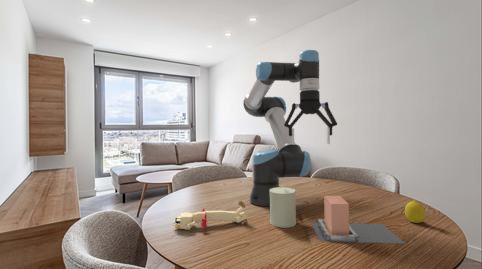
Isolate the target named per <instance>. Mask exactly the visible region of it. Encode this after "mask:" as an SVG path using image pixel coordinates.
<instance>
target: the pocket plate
mask: <svg viewBox="0 0 482 269" xmlns="http://www.w3.org/2000/svg"><path fill="white" fill-rule="evenodd" d="M311 225H312V227H313V229H314V231H315V234H316V236H317V239H318V240H319V242H331V243H332V242H334V243H335V242H336V243H367V244H368V243H369V244H371V243H373V244H374V243H375V244H401V245H402V244H404V245H405V244H406V242H404V240H402V239H401V238H400V237H398V236H397V235H396V234H395V233H394V232H393V231H392V230H390V229H389V228H388V227H386V226H385V225H384V224H383V223H356V222H354V223H350V222H349V235H339V234H330V233H329V232H328V230H327V228H326V227H325V218H323V219H322V218H318V219H317V222H311Z"/></svg>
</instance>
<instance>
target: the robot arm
mask: <svg viewBox="0 0 482 269" xmlns="http://www.w3.org/2000/svg"><path fill="white" fill-rule="evenodd" d="M298 56H299V57H298V61H297V62H276V61H260V62H258V63H257V65H256V68H255V76H256V80H255V82H254V83H253V86H252V88H251V89H250V91H249V93H247V95H246V96H245V97H244V99H243V102H242V103H243V107H244V108H243V109H244V110H245V111H246V113H247V114H249V115H250V116H252V117H256V118H264V120H265V121H266V122H267V123H269V125H270V128H271V131H272V135H273V136H274V140H275V142H276V145H277V148H278V149H274V148H273V149H265V150H260V151H257V152H254V154H253V157H252V172H253V173H252V176H253V183H252V184H253V185H252V188H251V192H250V196H249V202H250V204H252V203H253V204H252V205H254V204H255V205H256V206H258V205H260V206H259V207H270V191H269V190H270V189H272V188H277V187H280V178H282V179H283V178H300V177H305V176H307V175H308V174H309V172H310V170H311V162H312V161H311V155H310V153H309V152H308V151H305V150H302V148H301V146H300V145H299V144H296V142H295V128H294V126H295V125H296V123H297V122H298V121H299V119H300V118H301V117H302V116H303V115H317V116H318V117H319V119H321V121H322V122H323V123H324V124H325V125H326V126H327V127H325V141H326V142H325V144H326V145H331V138H330V137H331V136H333V127H335V126H338V122H337V120H336V119H335V116H334V115H333V113H332V111H331V109H330V106H329V102H327V101H326V102H322V103H321V101H320V100H321V99H320V97H321V96H320V91H319V90H320V54H319V51H317V50H315V49H305V50H303V51H301V52H300V53H299V55H298ZM275 81H278V82H280V81H282V82H284V81H285V82H289V83H299V91H300V92H299V103H294V102H293V103H292V104H291V110H290V112H289V114H288V115H287V118H286V119H285V116H286V113H287V104H286V101H285V100H284V98H283V97H280V96H267V93H268V92H269V91H270V89H271V87H272V86H273V84H274V83H275ZM321 107H322V109H324V112H325V113H326V115H327V117H328V118H329V119H328V118H327V117H326V116H325V114H323V112H322V111H321V110H320V108H321ZM298 108H299V109H300V112H299V113H298V114H297V115H296V117H295V118H294V119H293V120H292V122H291V119H292V117H293V115H294V113H295V111H296V110H297V109H298ZM329 120H330V121H329ZM289 123H290V124H289Z"/></svg>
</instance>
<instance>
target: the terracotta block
mask: <svg viewBox="0 0 482 269" xmlns="http://www.w3.org/2000/svg"><path fill="white" fill-rule="evenodd" d="M323 200H324V201H323V205H324V208H323V209H324V210H323V211H324V212H323V213H324V214H323V215H324V219H325V227H326V228H327V230H328V232H329V233H330V234H339V235H349V223H350V205H349V204H350V203H348V201H347V200H345V198H343V197H342V196H341V195H324V197H323Z"/></svg>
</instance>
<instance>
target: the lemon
mask: <svg viewBox="0 0 482 269" xmlns="http://www.w3.org/2000/svg"><path fill="white" fill-rule="evenodd" d="M404 214H405V217H406V219H407V220H408V221H409V222H411V223H413V224H420V223H422V222H423V221H424V220H425V217H426V212H425V207H424V206H423V205H422V204H421V203H420V202H418V201H417V200H413V201H410V202H407V204H406V205H405V208H404Z"/></svg>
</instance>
